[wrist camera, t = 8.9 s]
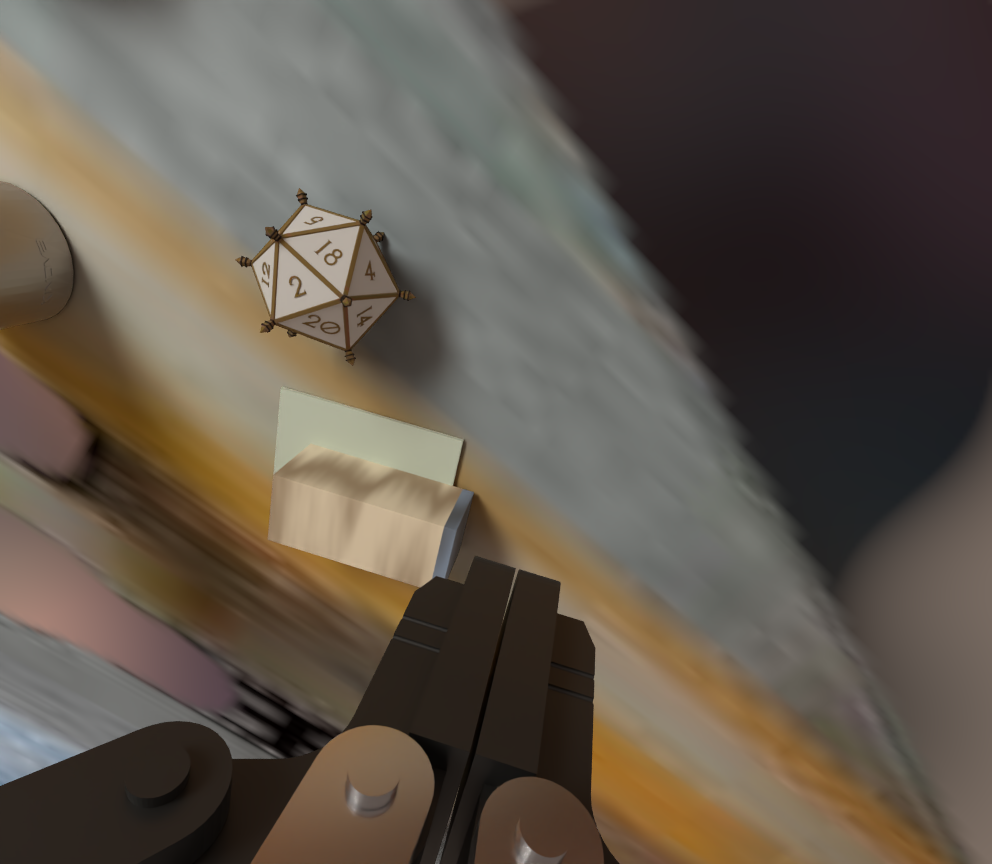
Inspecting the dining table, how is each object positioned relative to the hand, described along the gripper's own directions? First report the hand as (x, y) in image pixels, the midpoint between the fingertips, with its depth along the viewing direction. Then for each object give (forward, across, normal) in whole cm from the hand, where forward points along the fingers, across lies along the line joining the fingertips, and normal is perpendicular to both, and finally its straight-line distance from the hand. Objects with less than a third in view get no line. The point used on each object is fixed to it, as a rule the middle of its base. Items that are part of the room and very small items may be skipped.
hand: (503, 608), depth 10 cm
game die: (+27, +14, +1) cm, 31 cm away
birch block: (+24, +3, +16) cm, 29 cm away
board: (+27, +12, +16) cm, 33 cm away
